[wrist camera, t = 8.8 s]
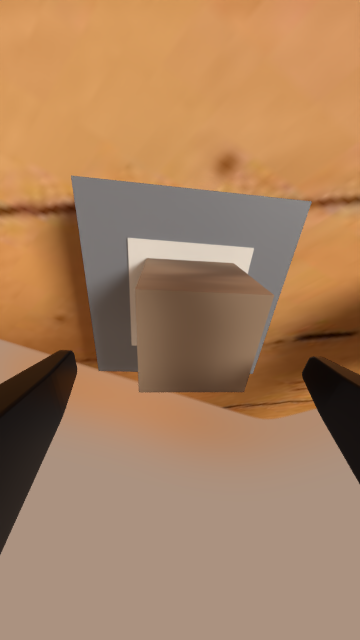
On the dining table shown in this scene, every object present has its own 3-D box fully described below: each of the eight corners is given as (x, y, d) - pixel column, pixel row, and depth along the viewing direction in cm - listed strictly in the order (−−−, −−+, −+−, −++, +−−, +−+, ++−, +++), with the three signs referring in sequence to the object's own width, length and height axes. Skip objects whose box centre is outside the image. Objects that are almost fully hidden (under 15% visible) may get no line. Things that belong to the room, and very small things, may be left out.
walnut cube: (233, 263, 12) (274, 295, 7) (219, 335, 14) (243, 392, 10) (146, 258, 11) (134, 289, 7) (147, 333, 14) (138, 392, 9)
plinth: (275, 203, 14) (312, 201, 10) (237, 344, 20) (253, 374, 16) (96, 184, 13) (70, 175, 9) (111, 340, 19) (98, 371, 15)
